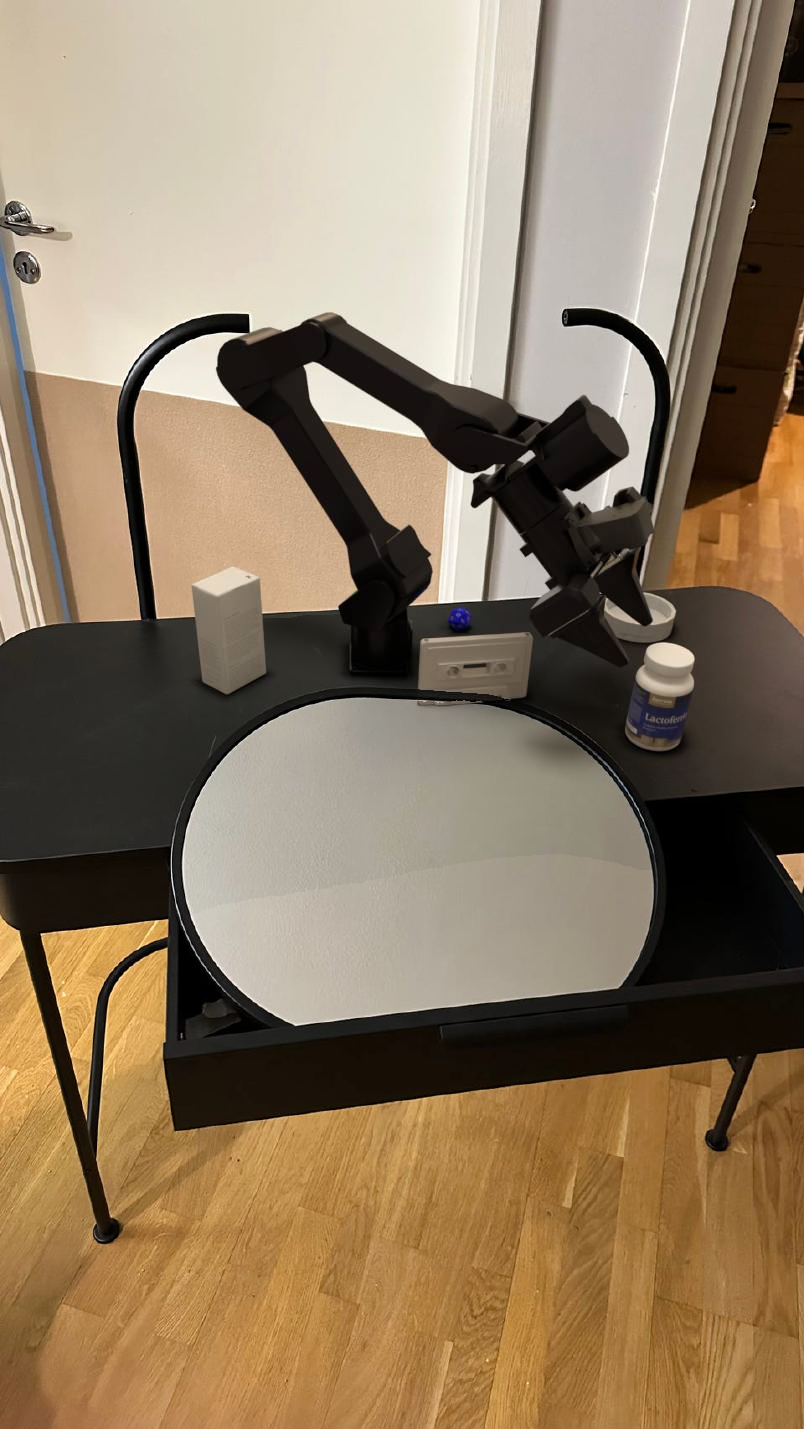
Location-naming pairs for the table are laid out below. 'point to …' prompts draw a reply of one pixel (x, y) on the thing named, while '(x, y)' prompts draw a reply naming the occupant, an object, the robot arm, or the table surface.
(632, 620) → the dish
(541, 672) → the table surface
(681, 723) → the pill bottle
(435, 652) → the cassette
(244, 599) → the cosmetic box
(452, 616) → the die
